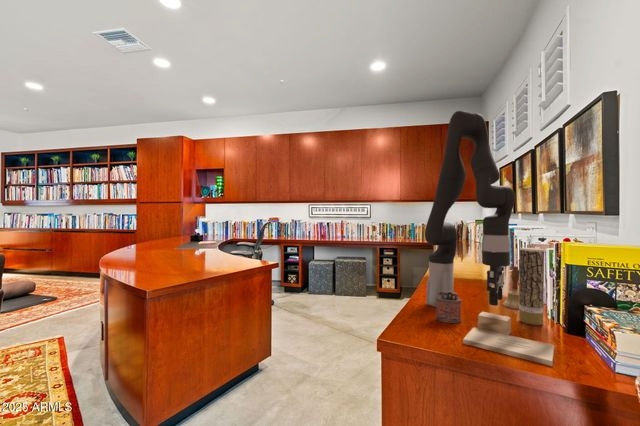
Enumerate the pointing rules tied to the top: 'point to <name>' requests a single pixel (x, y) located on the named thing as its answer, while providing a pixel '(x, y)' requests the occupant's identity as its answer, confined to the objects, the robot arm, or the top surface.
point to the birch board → (511, 345)
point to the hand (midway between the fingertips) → (496, 302)
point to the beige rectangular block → (494, 323)
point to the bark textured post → (531, 286)
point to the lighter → (448, 307)
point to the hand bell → (513, 291)
